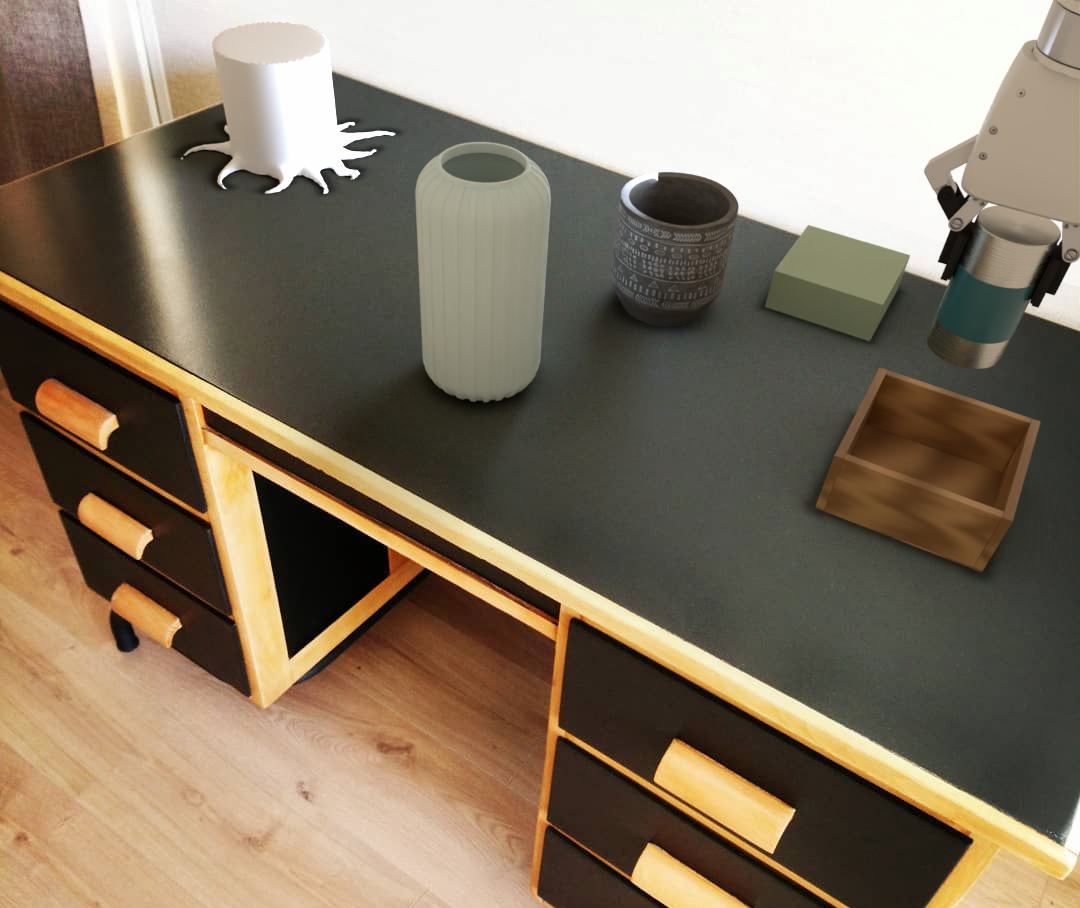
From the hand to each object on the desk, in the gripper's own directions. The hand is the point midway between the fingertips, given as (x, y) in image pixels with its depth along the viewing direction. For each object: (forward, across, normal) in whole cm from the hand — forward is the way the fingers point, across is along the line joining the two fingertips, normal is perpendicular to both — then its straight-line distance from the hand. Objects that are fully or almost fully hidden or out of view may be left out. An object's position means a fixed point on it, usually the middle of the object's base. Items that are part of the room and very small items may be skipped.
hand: (992, 283), depth 73 cm
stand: (+20, +14, -24) cm, 35 cm away
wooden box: (+20, -1, +3) cm, 20 cm away
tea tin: (+6, 0, 0) cm, 6 cm away
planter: (+20, +31, -12) cm, 39 cm away
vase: (+20, +41, +10) cm, 46 cm away
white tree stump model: (+20, +89, -19) cm, 93 cm away
